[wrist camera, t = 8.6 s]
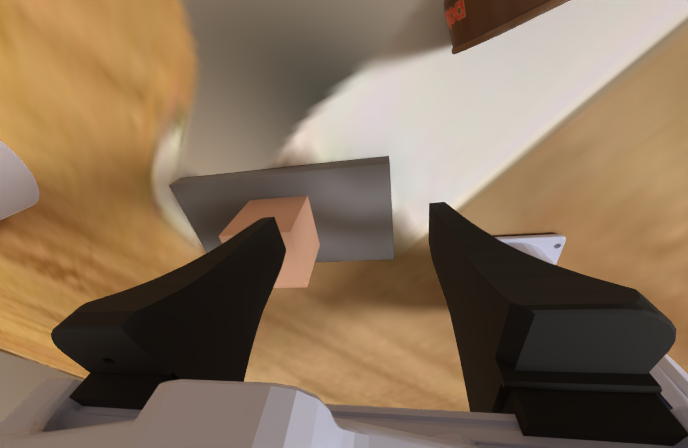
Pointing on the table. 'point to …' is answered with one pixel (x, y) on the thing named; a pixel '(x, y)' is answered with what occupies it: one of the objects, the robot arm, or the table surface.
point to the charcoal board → (324, 196)
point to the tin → (489, 18)
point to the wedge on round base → (15, 184)
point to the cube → (284, 235)
